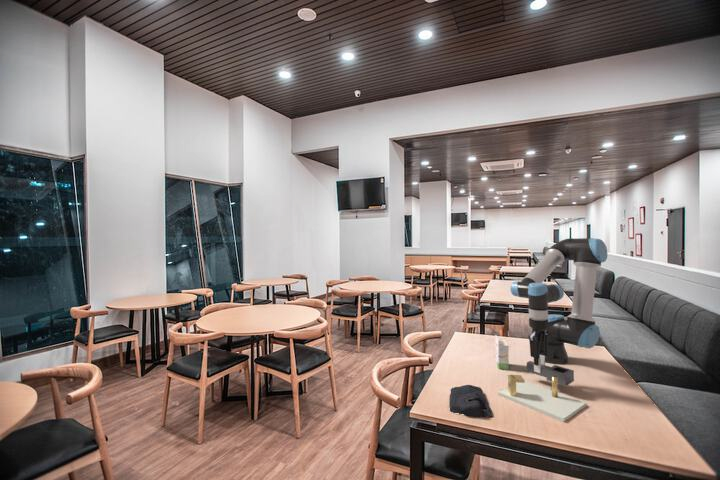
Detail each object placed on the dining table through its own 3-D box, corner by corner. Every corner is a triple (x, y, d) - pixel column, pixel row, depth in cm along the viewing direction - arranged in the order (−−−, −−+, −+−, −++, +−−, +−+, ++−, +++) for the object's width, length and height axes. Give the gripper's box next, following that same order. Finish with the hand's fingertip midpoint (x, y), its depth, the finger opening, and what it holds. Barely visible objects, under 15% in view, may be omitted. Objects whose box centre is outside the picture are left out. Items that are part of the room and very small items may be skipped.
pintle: (553, 394, 135) (553, 375, 135) (558, 396, 133) (558, 377, 133) (550, 396, 134) (550, 376, 134) (556, 398, 132) (556, 378, 132)
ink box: (509, 369, 163) (509, 339, 163) (498, 369, 164) (498, 339, 164) (505, 363, 172) (505, 334, 172) (495, 362, 173) (494, 334, 173)
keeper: (520, 394, 138) (520, 375, 138) (524, 400, 133) (524, 380, 133) (507, 393, 139) (507, 374, 139) (511, 399, 134) (511, 379, 134)
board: (522, 382, 149) (522, 380, 149) (586, 405, 128) (586, 402, 128) (498, 395, 138) (498, 392, 138) (563, 422, 117) (563, 418, 117)
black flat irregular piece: (486, 393, 140) (486, 381, 140) (493, 421, 119) (493, 408, 119) (449, 389, 144) (449, 378, 144) (448, 415, 123) (448, 402, 123)
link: (573, 381, 140) (573, 370, 140) (565, 386, 136) (565, 375, 136) (532, 368, 154) (532, 358, 154) (524, 372, 150) (524, 362, 150)
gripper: (538, 313, 155) (540, 363, 156) (520, 320, 146) (521, 373, 147) (556, 316, 149) (557, 368, 150) (537, 323, 140) (539, 378, 140)
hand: (539, 370), depth 148 cm, fingers closed on link, 3 cm apart
